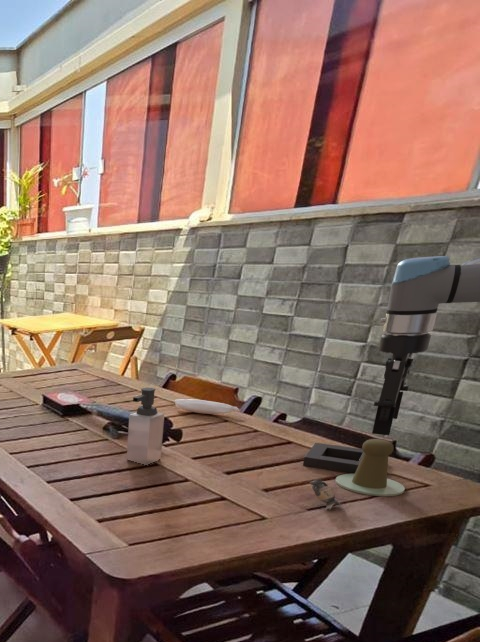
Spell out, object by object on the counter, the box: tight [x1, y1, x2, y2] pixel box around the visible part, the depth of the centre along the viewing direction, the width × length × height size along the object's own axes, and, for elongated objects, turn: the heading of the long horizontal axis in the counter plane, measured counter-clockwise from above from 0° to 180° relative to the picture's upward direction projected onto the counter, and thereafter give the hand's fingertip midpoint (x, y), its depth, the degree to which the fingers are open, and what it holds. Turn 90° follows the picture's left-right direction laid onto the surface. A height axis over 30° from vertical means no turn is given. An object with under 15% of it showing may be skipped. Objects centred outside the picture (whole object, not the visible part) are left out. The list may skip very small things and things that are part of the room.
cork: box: [352, 438, 395, 489], centre depth 116 cm, size 6×6×11 cm
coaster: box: [334, 473, 406, 497], centre depth 118 cm, size 12×12×1 cm
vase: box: [309, 478, 344, 512], centre depth 112 cm, size 5×5×6 cm
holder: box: [302, 442, 364, 474], centre depth 131 cm, size 13×13×2 cm
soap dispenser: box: [126, 387, 165, 466], centre depth 143 cm, size 6×9×22 cm
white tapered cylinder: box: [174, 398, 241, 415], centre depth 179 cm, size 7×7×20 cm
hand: (384, 425), depth 113 cm, fingers open, 13 cm apart
